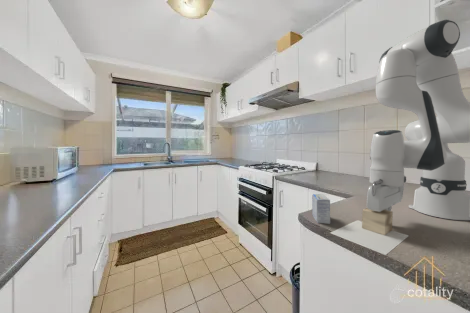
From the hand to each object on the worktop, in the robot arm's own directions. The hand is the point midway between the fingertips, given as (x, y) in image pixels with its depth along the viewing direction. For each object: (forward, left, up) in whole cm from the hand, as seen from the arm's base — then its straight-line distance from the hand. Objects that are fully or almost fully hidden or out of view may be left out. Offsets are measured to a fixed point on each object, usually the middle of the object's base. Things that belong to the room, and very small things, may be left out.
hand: (384, 218), depth 61 cm
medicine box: (+13, -15, -3) cm, 20 cm away
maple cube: (+6, 0, -2) cm, 6 cm away
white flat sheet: (+12, 0, -2) cm, 12 cm away
